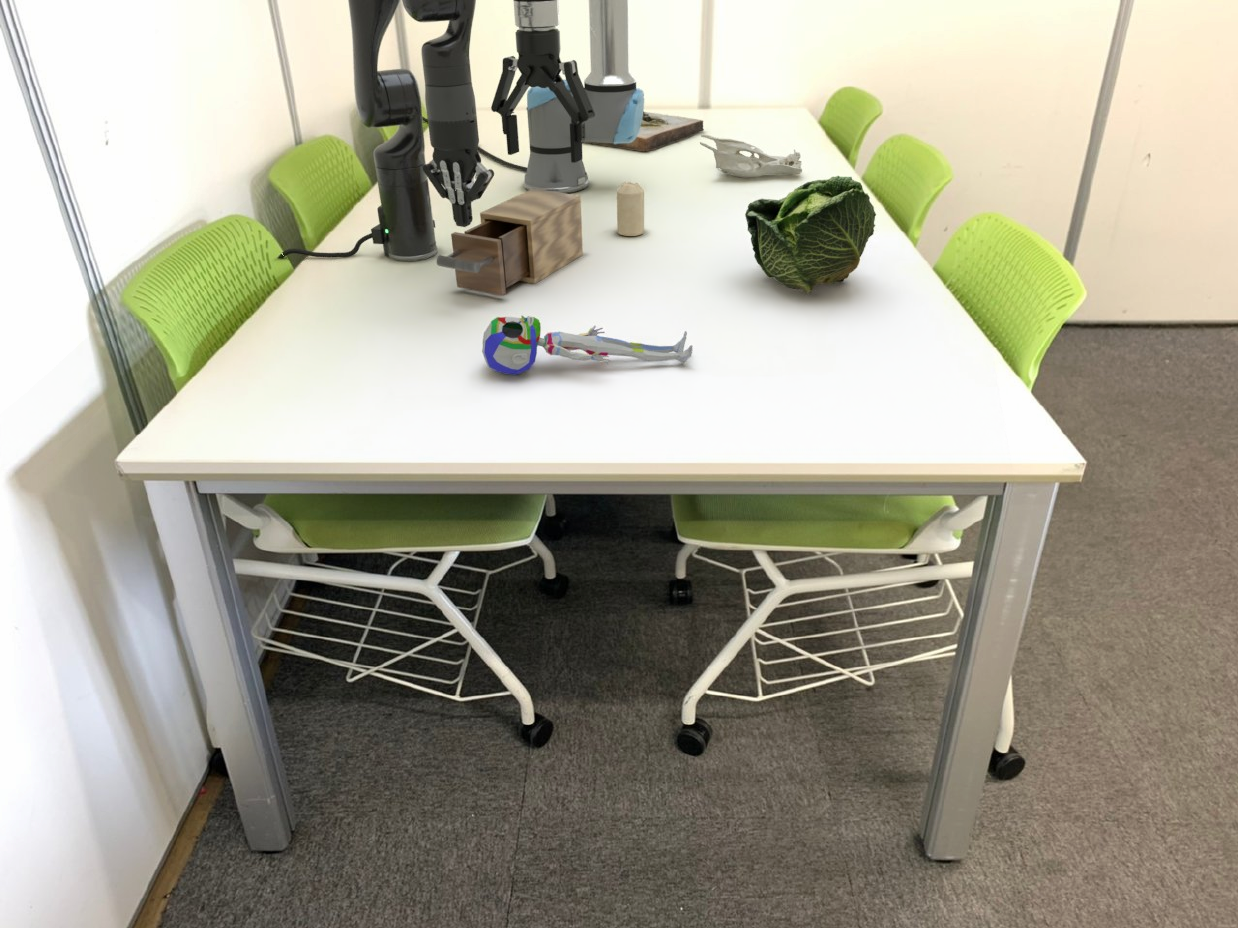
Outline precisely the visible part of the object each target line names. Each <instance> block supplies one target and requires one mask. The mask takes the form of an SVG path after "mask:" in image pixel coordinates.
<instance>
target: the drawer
mask: <svg viewBox="0 0 1238 928" xmlns="http://www.w3.org/2000/svg"><path fill="white" fill-rule="evenodd" d="M450 237H451V245H452V253H450V254H448V255H442V254H441V255H440V254H439V255H438V256H437V258H436V265H437V266H438V267H442V268H446V269H452V270H454V271H455V279H456V281H455V282H456V287H457V288H461V289H466V290H470V291H471V290H472V291H476V292H479V293H480V292H481V293H487V294H492V295H495V296H500V297H503V296H504V295H506V293H507V292H506V289H507V288H509V287H511V286H513V285H514V284H515V283H517V282H520V281H519V280H521V279H523V278H524V277H526V276H528V275H529V274H530V266H529V252H528V238H527V225H522V224H516V223H509V222H503V221H497V220H491V219H490V220H488V221H486V222H484V223H481V222H480V223H479V224H477V225H476V226H473V227H471V228H469V229H467V230H464V231H463V232H457V231H454V232H452V233H451V234H450Z"/></svg>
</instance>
